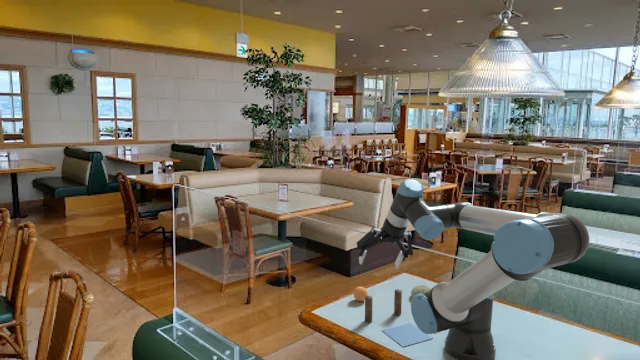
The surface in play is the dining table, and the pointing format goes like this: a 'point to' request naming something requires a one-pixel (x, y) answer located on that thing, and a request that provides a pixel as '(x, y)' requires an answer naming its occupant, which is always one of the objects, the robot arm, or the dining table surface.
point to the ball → (360, 293)
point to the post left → (368, 309)
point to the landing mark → (406, 334)
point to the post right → (397, 302)
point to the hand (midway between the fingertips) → (378, 263)
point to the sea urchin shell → (419, 289)
